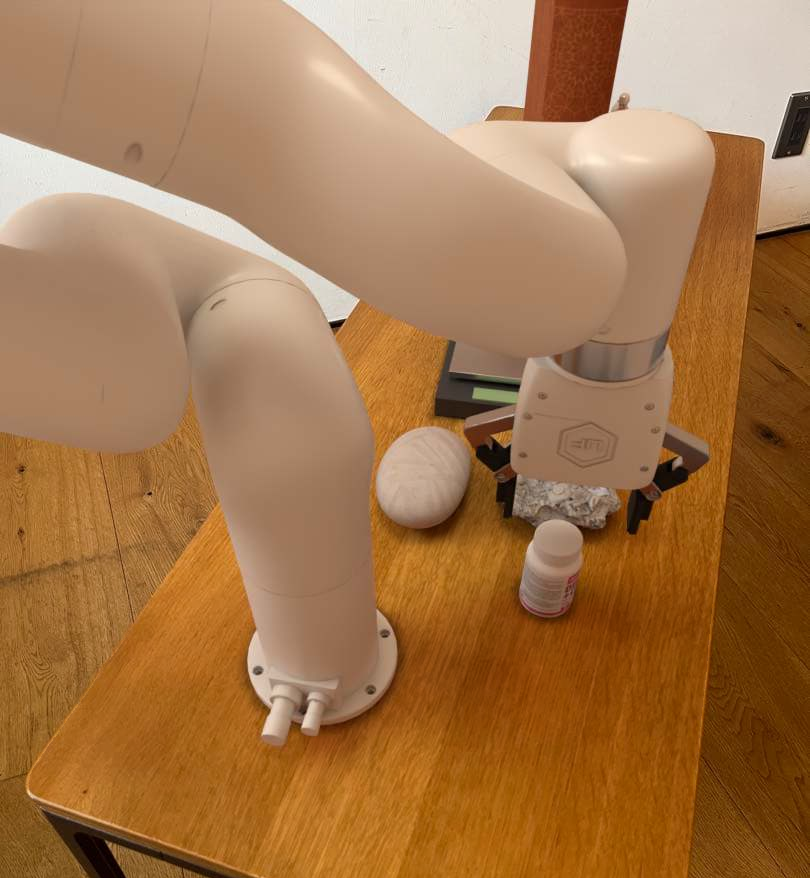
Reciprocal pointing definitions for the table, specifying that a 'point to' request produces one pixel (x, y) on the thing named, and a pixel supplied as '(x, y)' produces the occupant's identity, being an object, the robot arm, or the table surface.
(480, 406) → the scale
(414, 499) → the decorative stone
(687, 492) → the table surface
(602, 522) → the mineral specimen
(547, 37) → the book
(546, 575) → the pill bottle
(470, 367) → the scale pan
